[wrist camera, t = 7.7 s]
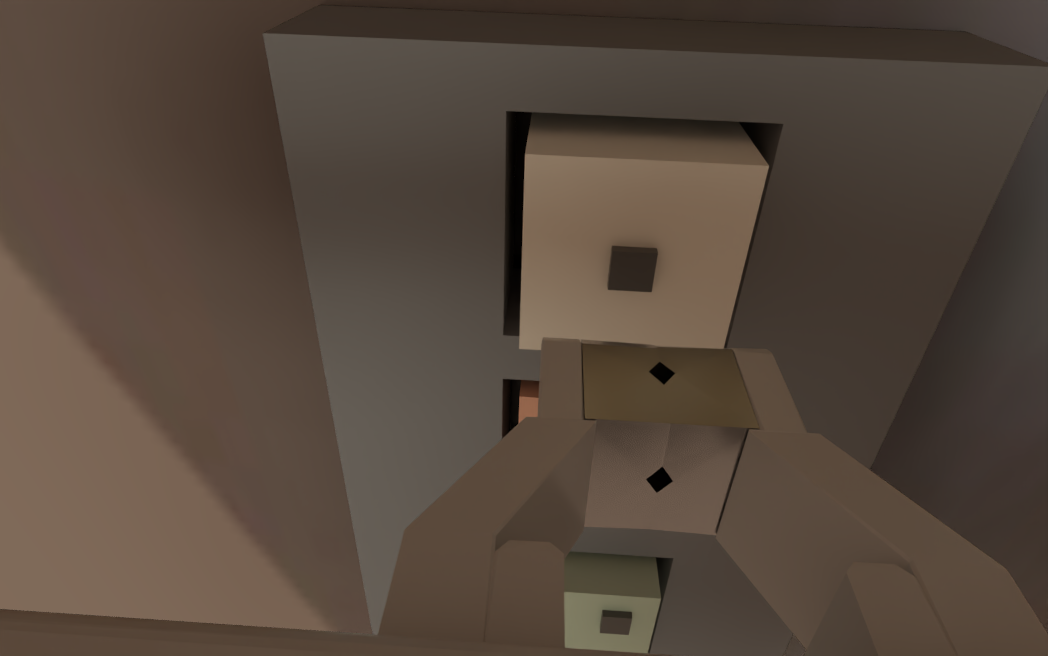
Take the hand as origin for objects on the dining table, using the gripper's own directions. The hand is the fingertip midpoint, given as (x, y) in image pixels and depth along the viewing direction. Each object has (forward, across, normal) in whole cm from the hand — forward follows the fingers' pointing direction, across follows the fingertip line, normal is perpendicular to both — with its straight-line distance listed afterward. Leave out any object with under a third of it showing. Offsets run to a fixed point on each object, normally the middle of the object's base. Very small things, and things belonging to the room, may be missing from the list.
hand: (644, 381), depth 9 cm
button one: (+6, 0, 0) cm, 6 cm away
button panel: (+7, 0, -6) cm, 10 cm away
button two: (+6, 0, -12) cm, 13 cm away
